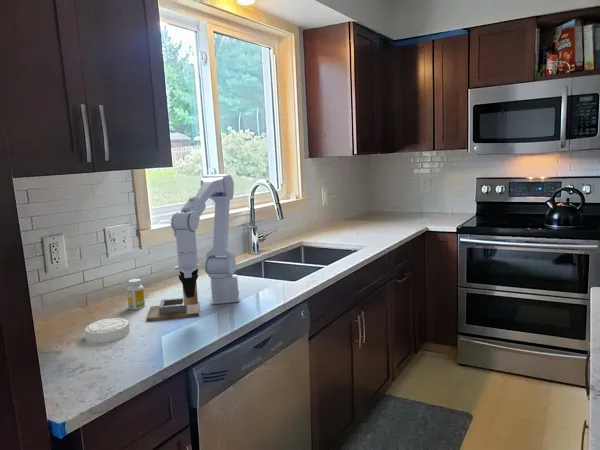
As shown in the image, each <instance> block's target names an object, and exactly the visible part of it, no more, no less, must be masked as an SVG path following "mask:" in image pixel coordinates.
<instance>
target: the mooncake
mask: <svg viewBox="0 0 600 450" xmlns="http://www.w3.org/2000/svg"><path fill="white" fill-rule="evenodd" d="M83 331H84V337H85V342H89V343H94V344H96V343H99V344H102V343H109V342H113V341H117V340H121V339H123V338H124V337H127V336H128V335H129V333H130V331H131V329H130V322H129V320H128V319H125V318H120V317H115V318H104V319H99V320H97V321H94V322H92V323H89V324H88V325H86V327H85V328H84V330H83Z"/></svg>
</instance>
